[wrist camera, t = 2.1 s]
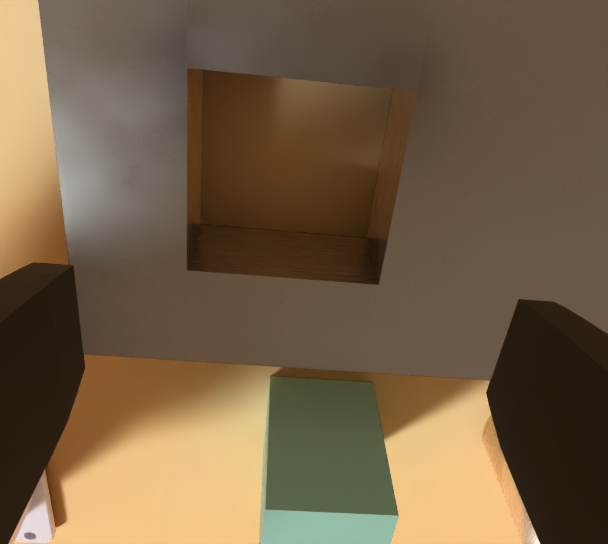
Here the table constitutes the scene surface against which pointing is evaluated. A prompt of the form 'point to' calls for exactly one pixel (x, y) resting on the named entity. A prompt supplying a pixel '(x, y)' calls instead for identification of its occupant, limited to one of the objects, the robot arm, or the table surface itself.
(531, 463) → the robot arm
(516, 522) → the round peg
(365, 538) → the square peg
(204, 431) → the table surface
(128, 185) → the bore block
